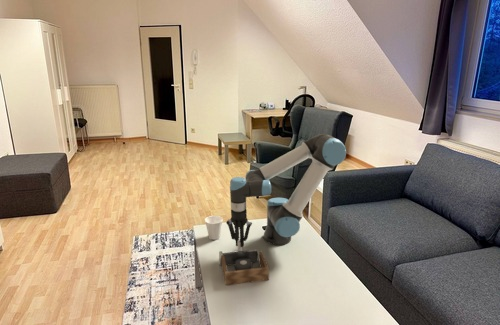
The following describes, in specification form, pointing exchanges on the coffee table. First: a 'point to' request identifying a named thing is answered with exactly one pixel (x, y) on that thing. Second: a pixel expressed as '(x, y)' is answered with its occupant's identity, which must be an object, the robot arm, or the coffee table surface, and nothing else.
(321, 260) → the coffee table surface
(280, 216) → the robot arm
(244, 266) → the coil
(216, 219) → the cup
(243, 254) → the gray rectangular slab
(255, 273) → the bay
